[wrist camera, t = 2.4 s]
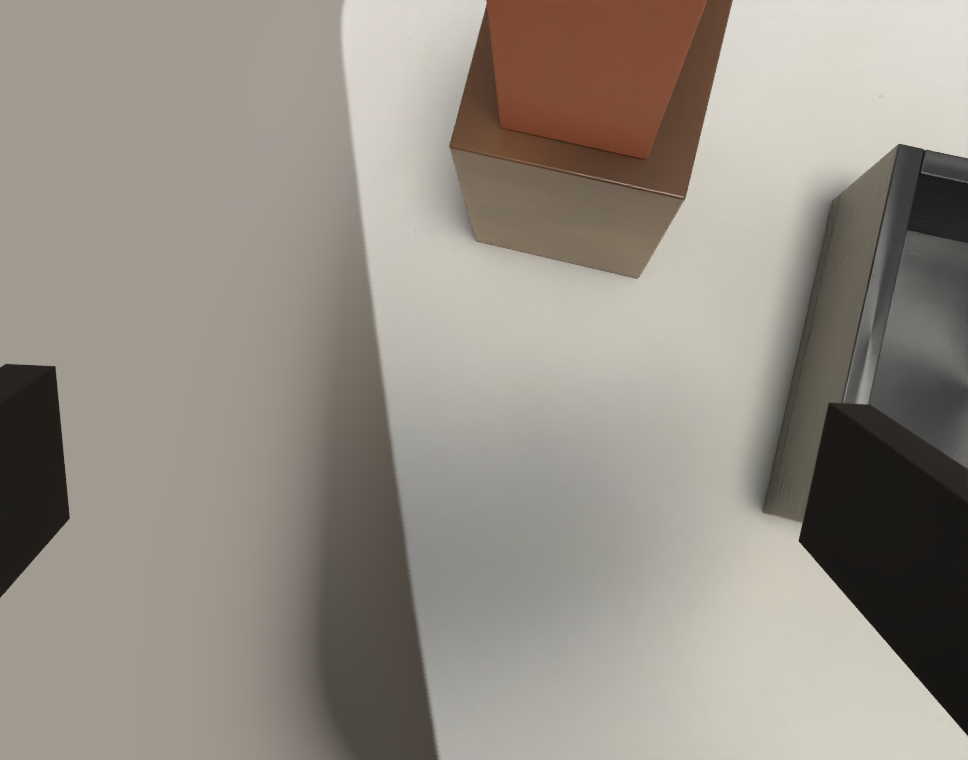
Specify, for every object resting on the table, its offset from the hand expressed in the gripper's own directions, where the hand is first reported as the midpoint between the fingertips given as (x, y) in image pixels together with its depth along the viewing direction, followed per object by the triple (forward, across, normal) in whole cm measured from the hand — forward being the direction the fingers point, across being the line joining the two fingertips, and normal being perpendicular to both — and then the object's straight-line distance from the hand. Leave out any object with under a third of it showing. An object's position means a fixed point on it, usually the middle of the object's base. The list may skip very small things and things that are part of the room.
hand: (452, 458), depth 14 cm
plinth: (+27, +7, +3) cm, 28 cm away
